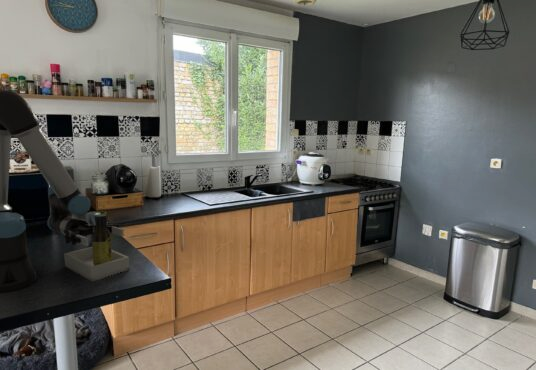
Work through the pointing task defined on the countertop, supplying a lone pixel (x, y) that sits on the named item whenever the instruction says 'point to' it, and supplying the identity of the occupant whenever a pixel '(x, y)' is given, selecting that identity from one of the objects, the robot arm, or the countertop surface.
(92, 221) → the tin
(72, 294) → the countertop surface
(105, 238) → the sauce bottle
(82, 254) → the tray
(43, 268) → the countertop surface
